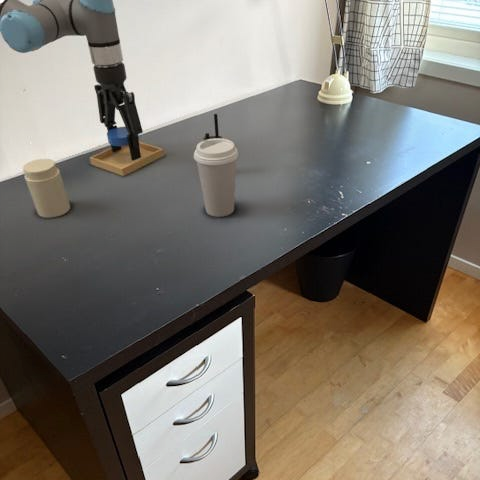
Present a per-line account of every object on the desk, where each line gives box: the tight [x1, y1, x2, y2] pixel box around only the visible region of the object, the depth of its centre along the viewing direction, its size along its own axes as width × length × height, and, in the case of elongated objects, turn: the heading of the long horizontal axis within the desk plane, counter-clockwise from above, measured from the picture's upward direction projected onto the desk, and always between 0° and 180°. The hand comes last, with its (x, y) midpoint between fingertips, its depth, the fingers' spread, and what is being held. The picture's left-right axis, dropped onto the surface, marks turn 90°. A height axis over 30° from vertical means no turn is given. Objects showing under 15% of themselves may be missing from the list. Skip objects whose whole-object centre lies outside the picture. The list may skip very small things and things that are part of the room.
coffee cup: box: [193, 138, 239, 218], centre depth 105 cm, size 10×10×15 cm
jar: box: [22, 158, 71, 219], centre depth 109 cm, size 8×8×11 cm
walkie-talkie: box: [202, 113, 223, 141], centre depth 119 cm, size 5×3×15 cm
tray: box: [89, 141, 165, 177], centre depth 131 cm, size 13×15×2 cm
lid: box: [106, 126, 140, 146], centre depth 128 cm, size 8×8×2 cm
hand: (126, 154), depth 131 cm, fingers closed on lid, 8 cm apart
